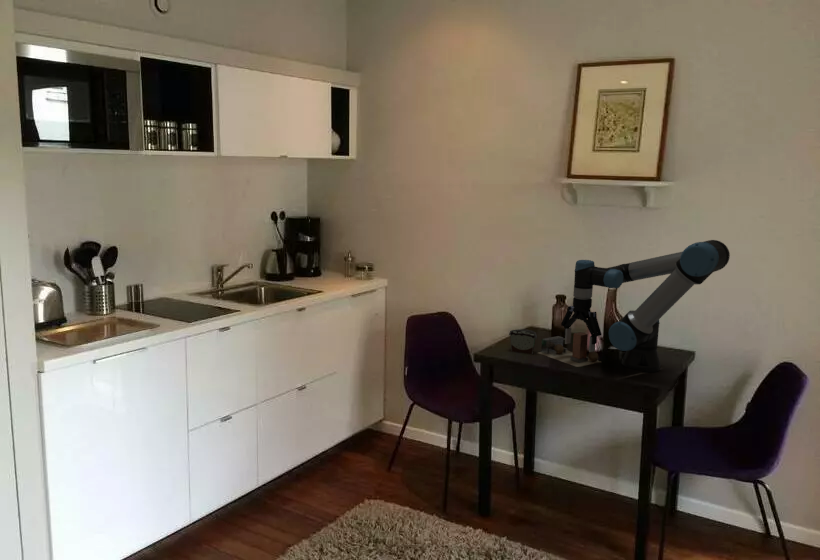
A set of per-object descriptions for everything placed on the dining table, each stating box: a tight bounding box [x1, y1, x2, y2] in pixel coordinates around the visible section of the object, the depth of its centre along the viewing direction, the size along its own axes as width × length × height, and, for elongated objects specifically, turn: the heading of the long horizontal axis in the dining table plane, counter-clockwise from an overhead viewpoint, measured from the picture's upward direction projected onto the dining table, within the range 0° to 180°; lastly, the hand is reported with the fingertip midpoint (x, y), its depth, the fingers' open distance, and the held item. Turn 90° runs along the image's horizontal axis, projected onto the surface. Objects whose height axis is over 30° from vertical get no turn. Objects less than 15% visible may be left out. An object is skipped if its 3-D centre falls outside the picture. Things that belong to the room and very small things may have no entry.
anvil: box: [540, 335, 568, 356], centre depth 300 cm, size 7×10×6 cm
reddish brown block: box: [570, 331, 589, 363], centre depth 288 cm, size 5×5×12 cm
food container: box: [508, 328, 538, 355], centre depth 302 cm, size 12×6×10 cm, turn 63°
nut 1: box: [554, 344, 565, 354], centre depth 299 cm, size 4×4×4 cm
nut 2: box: [587, 351, 599, 362], centre depth 288 cm, size 4×4×4 cm
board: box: [537, 350, 602, 368], centre depth 294 cm, size 24×14×1 cm, turn 33°
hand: (579, 347), depth 288 cm, fingers open, 13 cm apart
